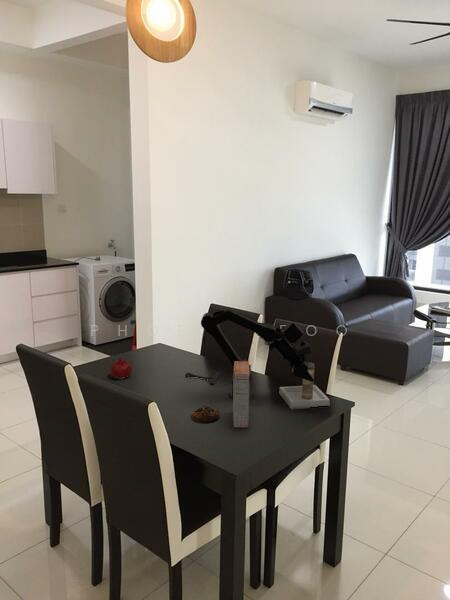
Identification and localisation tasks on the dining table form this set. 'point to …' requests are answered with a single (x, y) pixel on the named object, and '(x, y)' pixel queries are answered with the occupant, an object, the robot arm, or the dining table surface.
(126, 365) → the pomegranate
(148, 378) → the dining table surface
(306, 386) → the handle post
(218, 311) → the robot arm
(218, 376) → the dark grey t-shape
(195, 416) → the bread roll
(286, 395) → the tray
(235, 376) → the cracker box
